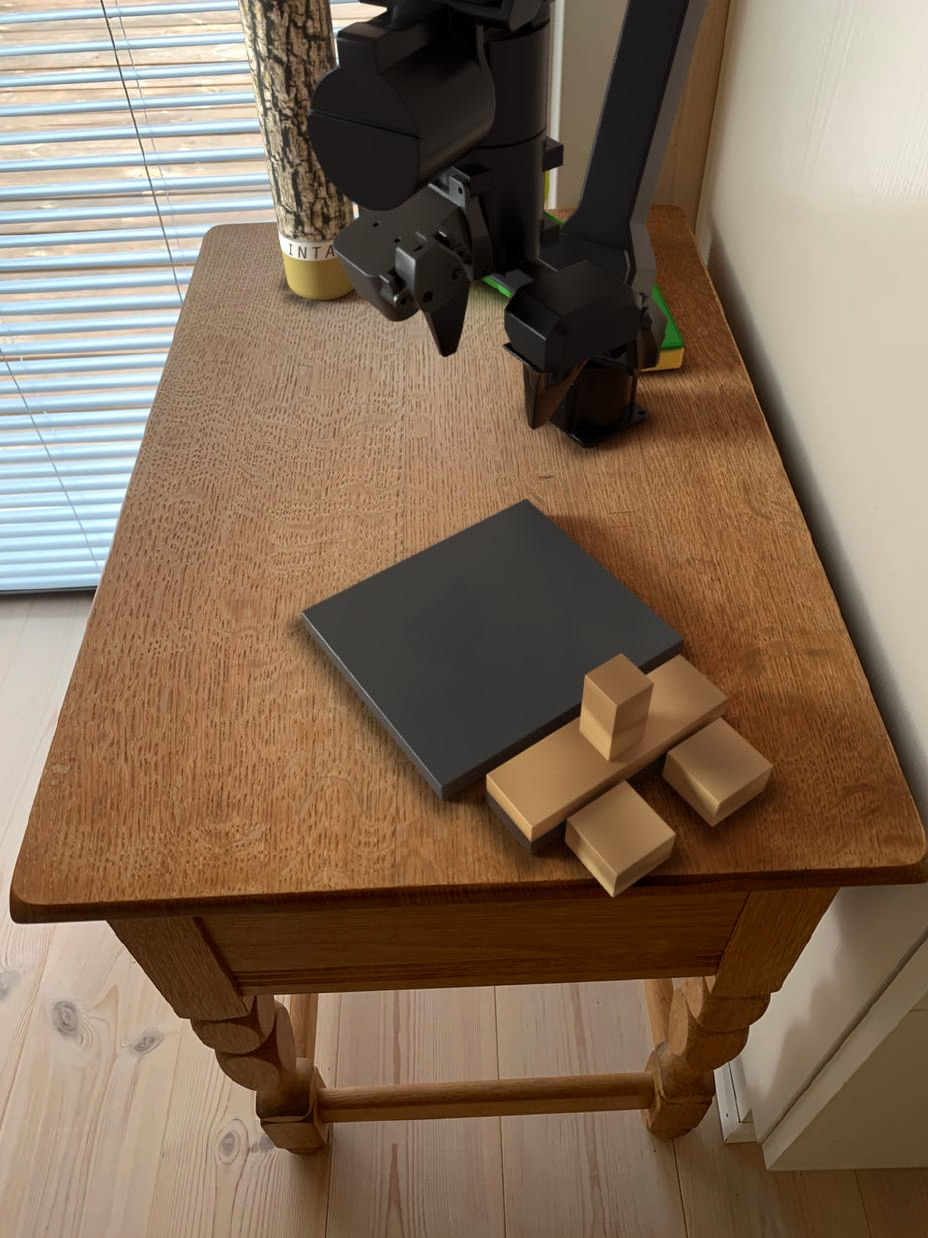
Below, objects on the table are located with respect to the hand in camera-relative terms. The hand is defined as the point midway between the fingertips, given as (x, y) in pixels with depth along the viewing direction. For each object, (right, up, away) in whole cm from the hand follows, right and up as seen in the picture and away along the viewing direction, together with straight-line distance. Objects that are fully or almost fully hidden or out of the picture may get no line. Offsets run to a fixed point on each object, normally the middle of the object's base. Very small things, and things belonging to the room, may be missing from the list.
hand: (491, 388), depth 60 cm
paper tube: (-15, +17, +32) cm, 39 cm away
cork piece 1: (+7, -26, -7) cm, 28 cm away
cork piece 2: (+12, -23, -5) cm, 27 cm away
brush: (+6, -22, -4) cm, 24 cm away
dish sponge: (+12, +11, +26) cm, 30 cm away
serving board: (0, -15, +2) cm, 16 cm away
